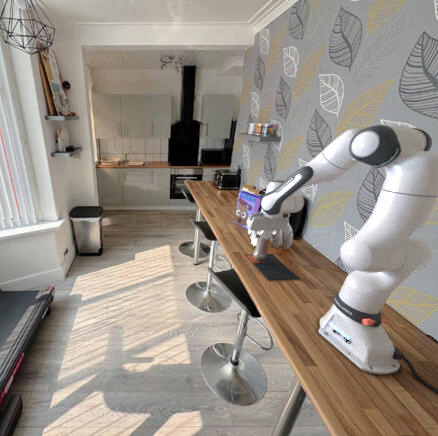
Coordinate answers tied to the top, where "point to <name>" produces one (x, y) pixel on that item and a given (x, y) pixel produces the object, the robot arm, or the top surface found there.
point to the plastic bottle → (262, 245)
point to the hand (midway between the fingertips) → (264, 237)
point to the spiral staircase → (276, 237)
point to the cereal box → (246, 207)
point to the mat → (273, 268)
